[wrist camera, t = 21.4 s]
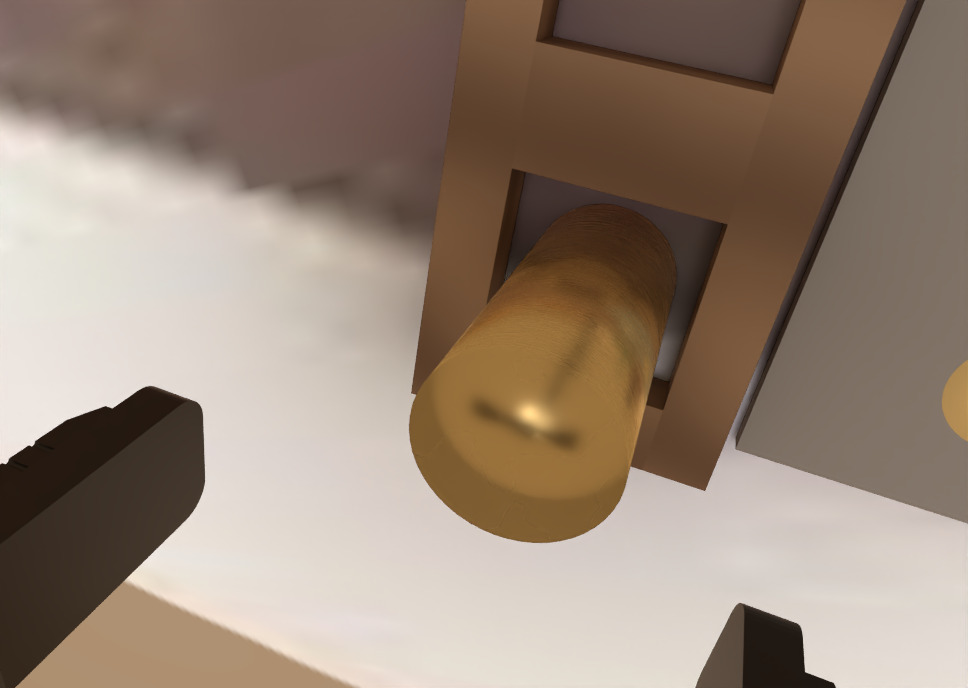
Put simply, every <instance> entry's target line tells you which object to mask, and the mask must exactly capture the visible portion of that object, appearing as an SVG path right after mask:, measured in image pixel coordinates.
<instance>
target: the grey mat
mask: <svg viewBox="0 0 968 688" xmlns="http://www.w3.org/2000/svg"><path fill="white" fill-rule="evenodd" d="M736 450H740V451H743V452H746V453H749V454H752V455H755V456H758V457H761V458H765V459H768V460H771V461H774V462H777V463H780V464H783V465H787V466H790V467H793V468H796V469H799V470H802V471H805V472H808V473H812V474H815V475H818V476H821V477H824V478H827V479H830V480H833V481H837V482H840V483H843V484H846V485H849V486H852V487H855V488H859V489H862V490H865V491H868V492H871V493H874V494H877V495H880V496H884V497H887V498H890V499H893V500H896V501H899V502H902V503H905V504H909V505H912V506H915V507H918V508H921V509H924V510H927V511H930V512H934V513H937V514H940V515H943V516H946V517H949V518H952V519H956V520H959V521H962V522H965V523H968V0H919V2H918V4H917V6H916V9H915V11H914V13H913V16H912V18H911V21H910V23H909V25H908V28H907V30H906V33H905V35H904V37H903V40H902V42H901V45H900V47H899V49H898V52H897V54H896V57H895V59H894V61H893V64H892V66H891V68H890V71H889V73H888V76H887V78H886V80H885V83H884V85H883V88H882V90H881V92H880V95H879V97H878V100H877V102H876V104H875V107H874V109H873V112H872V114H871V116H870V119H869V121H868V123H867V126H866V128H865V131H864V133H863V135H862V138H861V140H860V143H859V145H858V147H857V150H856V152H855V155H854V157H853V159H852V162H851V164H850V167H849V169H848V171H847V174H846V176H845V178H844V181H843V183H842V186H841V188H840V190H839V193H838V195H837V198H836V200H835V202H834V205H833V207H832V210H831V212H830V214H829V217H828V219H827V221H826V224H825V226H824V229H823V231H822V233H821V236H820V238H819V241H818V243H817V245H816V248H815V250H814V253H813V255H812V257H811V260H810V262H809V265H808V267H807V269H806V272H805V274H804V276H803V279H802V281H801V284H800V286H799V288H798V291H797V293H796V296H795V298H794V300H793V303H792V305H791V308H790V310H789V312H788V315H787V317H786V320H785V322H784V324H783V327H782V329H781V331H780V334H779V336H778V339H777V341H776V343H775V346H774V348H773V351H772V353H771V355H770V358H769V360H768V363H767V365H766V367H765V370H764V372H763V375H762V377H761V379H760V382H759V384H758V386H757V389H756V391H755V394H754V396H753V398H752V401H751V403H750V406H749V408H748V410H747V413H746V415H745V418H744V420H743V422H742V425H741V427H740V430H739V432H738V434H737V437H736Z"/></svg>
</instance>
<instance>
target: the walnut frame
mask: <svg viewBox="0 0 968 688" xmlns="http://www.w3.org/2000/svg"><path fill="white" fill-rule="evenodd" d="M558 3H559V0H466V7H465V14H464V21H463V28H462V36H461V43H460V50H459V57H458V64H457V71H456V78H455V85H454V93H453V100H452V107H451V114H450V121H449V128H448V135H447V142H446V150H445V157H444V164H443V171H442V178H441V185H440V192H439V199H438V207H437V214H436V221H435V228H434V235H433V242H432V249H431V256H430V263H429V271H428V278H427V285H426V292H425V299H424V306H423V313H422V320H421V328H420V335H419V342H418V349H417V356H416V363H415V370H414V377H413V385H412V392H411V393H413V394H416V395H417V393H418V391H419V390H420V388H421V386H422V385H423V383H424V382H425V381H426V379H427V378H428V377H429V376H430V375H431V373H432V372H433V371H434V370H435V368H436V367H437V366H438V365H439V363H440V362H441V361H442V360H443V358H444V357H445V356H446V355H447V353H448V352H449V351H450V350H451V348H452V347H453V346H454V345H455V343H456V342H457V341H458V340H459V339H460V337H461V336H462V335H463V334H464V332H465V331H466V330H467V329H468V327H469V326H470V325H471V324H472V322H473V321H474V320H475V319H476V317H477V316H478V315H479V314H480V312H481V311H482V310H483V309H484V308H485V306H486V305H487V304H488V303H489V301H490V300H491V299H492V298H493V296H494V295H495V294H496V293H497V291H498V290H499V289H500V288H501V286H502V285H503V282H504V277H505V272H506V267H507V262H508V257H509V252H510V247H511V242H512V236H513V231H514V226H515V221H516V216H517V211H518V206H519V201H520V196H521V191H522V186H523V181H524V176H525V172H528V173H532V174H536V175H540V176H543V177H547V178H551V179H555V180H559V181H563V182H566V183H570V184H574V185H578V186H582V187H586V188H590V189H593V190H597V191H601V192H605V193H609V194H613V195H616V196H620V197H624V198H628V199H632V200H636V201H639V202H643V203H647V204H651V205H655V206H659V207H663V208H666V209H670V210H674V211H678V212H682V213H686V214H689V215H693V216H697V217H701V218H705V219H709V220H712V221H716V222H720V223H724V225H723V228H722V231H721V234H720V237H719V240H718V243H717V245H716V248H715V251H714V254H713V257H712V260H711V263H710V266H709V269H708V271H707V274H706V277H705V280H704V283H703V286H702V289H701V292H700V295H699V297H698V300H697V303H696V306H695V309H694V312H693V315H692V318H691V321H690V323H689V326H688V329H687V332H686V335H685V338H684V341H683V344H682V347H681V349H680V352H679V355H678V358H677V361H676V364H675V367H674V370H673V373H672V375H671V378H670V381H669V382H665V381H662V380H659V379H656V378H652V382H651V386H650V390H649V394H648V398H647V402H646V406H645V410H644V414H643V418H642V422H641V426H640V430H639V434H638V438H637V442H636V446H635V450H634V454H633V458H632V462H631V466H632V467H635V468H638V469H641V470H644V471H647V472H650V473H653V474H656V475H659V476H662V477H665V478H668V479H671V480H674V481H677V482H680V483H683V484H686V485H689V486H692V487H695V488H698V489H701V490H704V491H705V490H706V487H707V485H708V483H709V480H710V478H711V475H712V473H713V470H714V468H715V466H716V463H717V461H718V458H719V456H720V453H721V451H722V448H723V446H724V444H725V441H726V439H727V436H728V434H729V431H730V429H731V427H732V424H733V422H734V419H735V417H736V414H737V412H738V410H739V407H740V405H741V402H742V400H743V397H744V395H745V392H746V390H747V388H748V385H749V383H750V380H751V378H752V375H753V373H754V371H755V368H756V366H757V363H758V361H759V358H760V356H761V353H762V351H763V349H764V346H765V344H766V341H767V339H768V336H769V334H770V332H771V329H772V327H773V324H774V322H775V319H776V317H777V315H778V312H779V310H780V307H781V305H782V302H783V300H784V297H785V295H786V293H787V290H788V288H789V285H790V283H791V280H792V278H793V276H794V273H795V271H796V268H797V266H798V263H799V261H800V258H801V256H802V254H803V251H804V249H805V246H806V244H807V241H808V239H809V237H810V234H811V232H812V229H813V227H814V224H815V222H816V220H817V217H818V215H819V212H820V210H821V207H822V205H823V202H824V200H825V198H826V195H827V193H828V190H829V188H830V185H831V183H832V181H833V178H834V176H835V173H836V171H837V168H838V166H839V163H840V161H841V159H842V156H843V154H844V151H845V149H846V146H847V144H848V142H849V139H850V137H851V134H852V132H853V129H854V127H855V125H856V122H857V120H858V117H859V115H860V112H861V110H862V107H863V105H864V103H865V100H866V98H867V95H868V93H869V90H870V88H871V86H872V83H873V81H874V78H875V76H876V73H877V71H878V69H879V66H880V64H881V61H882V59H883V56H884V54H885V51H886V49H887V47H888V44H889V42H890V39H891V37H892V34H893V32H894V30H895V27H896V25H897V22H898V20H899V17H900V15H901V12H902V10H903V8H904V5H905V3H906V0H801V3H800V6H799V8H798V11H797V14H796V17H795V20H794V23H793V26H792V29H791V32H790V34H789V37H788V40H787V43H786V46H785V49H784V52H783V55H782V58H781V60H780V63H779V66H778V69H777V72H776V75H775V78H774V81H773V84H772V85H770V84H766V83H761V82H757V81H752V80H747V79H743V78H738V77H734V76H729V75H725V74H720V73H716V72H711V71H707V70H702V69H698V68H693V67H689V66H684V65H679V64H675V63H670V62H666V61H661V60H657V59H652V58H648V57H643V56H639V55H634V54H630V53H625V52H620V51H616V50H611V49H607V48H602V47H598V46H593V45H589V44H584V43H580V42H575V41H571V40H566V39H562V38H557V37H552V34H553V29H554V24H555V19H556V13H557V8H558Z"/></svg>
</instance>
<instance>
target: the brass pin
mask: <svg viewBox="0 0 968 688" xmlns="http://www.w3.org/2000/svg"><path fill="white" fill-rule="evenodd" d="M676 279H677V273H676V263H675V258H674V255H673V252H672V249H671V247H670V245H669V243H668V241H667V240H666V238H665V237H664V235H663V234H662V233H661V231H660V230H659V229H658V228H657V227H656V226H655V225H654V224H653V223H652V222H650V221H649V220H648V219H646V218H645V217H643V216H642V215H640V214H639V213H636V212H634V211H632V210H630V209H627V208H624V207H621V206H616V205H608V204H595V205H588V206H583V207H580V208H577V209H574V210H572V211H570V212H568V213H566V214H564V215H563V216H561V217H560V218H558V219H557V220H556V221H555V222H554V223H553V224H552V225H551V226H550V227H549V228H548V229H547V231H546V232H545V233H544V234H543V236H542V237H541V238H540V239H539V240H538V242H537V243H536V244H535V245H534V247H533V248H532V249H531V250H530V252H529V253H528V254H527V255H526V257H525V258H524V259H523V260H522V262H521V263H520V264H519V265H518V267H517V268H516V269H515V270H514V272H513V273H512V274H511V275H510V276H509V278H508V279H507V280H506V281H505V283H504V284H503V285H502V286H501V288H500V289H499V290H498V291H497V293H496V294H495V295H494V296H493V298H492V299H491V300H490V301H489V303H488V304H487V305H486V306H485V308H484V309H483V310H482V311H481V312H480V314H479V315H478V316H477V317H476V319H475V320H474V321H473V322H472V324H471V325H470V326H469V327H468V329H467V330H466V331H465V332H464V334H463V335H462V336H461V337H460V339H459V340H458V341H457V342H456V343H455V345H454V346H453V347H452V348H451V350H450V351H449V352H448V353H447V355H446V356H445V357H444V358H443V360H442V361H441V362H440V363H439V365H438V366H437V367H436V368H435V370H434V371H433V372H432V373H431V375H430V376H429V377H428V378H427V379H426V381H425V382H424V383H423V385H422V386H421V388H420V390H419V391H418V393H417V395H416V397H415V400H414V402H413V405H412V409H411V414H410V422H409V434H410V442H411V447H412V452H413V455H414V458H415V460H416V463H417V465H418V467H419V469H420V471H421V473H422V475H423V477H424V479H425V480H426V482H427V483H428V485H429V486H430V488H431V489H432V490H433V491H434V492H435V494H436V495H437V496H438V497H439V498H440V499H441V500H442V501H443V502H444V503H445V504H446V505H447V506H448V507H449V508H450V509H451V510H453V511H454V512H455V513H456V514H457V515H459V516H460V517H462V518H463V519H465V520H466V521H468V522H469V523H471V524H473V525H475V526H477V527H478V528H480V529H482V530H485V531H487V532H489V533H492V534H494V535H497V536H500V537H504V538H507V539H511V540H516V541H521V542H531V543H549V542H557V541H563V540H567V539H571V538H574V537H576V536H579V535H582V534H584V533H586V532H588V531H589V530H591V529H593V528H595V527H596V526H597V525H599V524H600V523H601V522H602V521H604V520H605V519H606V518H607V517H608V516H609V515H610V513H611V512H612V511H613V510H614V508H615V507H616V505H617V504H618V502H619V501H620V499H621V496H622V494H623V492H624V489H625V485H626V481H627V477H628V474H629V470H630V466H631V462H632V458H633V454H634V450H635V446H636V442H637V438H638V434H639V430H640V426H641V422H642V418H643V414H644V410H645V406H646V402H647V398H648V394H649V390H650V386H651V382H652V378H653V374H654V370H655V366H656V362H657V358H658V354H659V350H660V346H661V342H662V338H663V334H664V330H665V327H666V323H667V319H668V315H669V311H670V307H671V303H672V299H673V295H674V291H675V287H676Z"/></svg>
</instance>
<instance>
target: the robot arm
mask: <svg viewBox="0 0 968 688" xmlns="http://www.w3.org/2000/svg"><path fill="white" fill-rule="evenodd" d="M204 484H205V462H204V433H203V412H202V408H201V406H200V405H199V404H198V403H197V402H195V401H192V400H190V399H187V398H184V397H181V396H179V395H176V394H173V393H170V392H168V391H165V390H162V389H160V388H157V387H154V386H148V387H144V388H142V389H140V390H139V391H137V392H136V393H134V394H133V395H131V396H130V397H128V398H127V399H126V400H124V401H123V402H121V403H120V404H118V405H117V406H116V407H114V408H113V409H112V408H109V407H107V406H105V407H102V408H99V409H96V410H94V411H91V412H88V413H85V414H82V415H80V416H77V417H74V418H71V419H68V420H66V421H65V422H63V423H62V424H60V425H59V426H57V427H56V428H54V429H53V430H51V431H50V432H48V433H47V434H45V435H44V436H42V437H41V438H39V439H38V440H36V441H35V444H34V445H33V446H32V447H31V446H27V447H26V448H24V449H23V450H21V451H20V452H18V453H17V454H15V455H14V456H12V457H11V458H9V461H8V463H7V464H3V463H2V464H0V688H15V687H16V686H17V685H18V684H19V683H20V682H21V681H22V680H23V679H24V678H25V677H26V676H27V675H28V674H29V673H30V672H31V671H32V670H33V669H34V668H36V667H37V665H39V664H40V663H41V662H42V661H43V660H44V659H45V658H46V657H47V656H48V655H49V654H50V653H51V652H52V651H53V650H54V649H55V648H56V647H57V646H58V645H59V644H60V643H61V642H62V641H63V640H64V639H65V638H66V637H67V636H68V635H69V634H70V633H71V632H72V631H73V630H74V629H75V628H76V627H77V626H78V625H79V624H80V623H81V622H82V621H83V620H85V618H87V617H88V616H89V615H90V614H91V613H92V612H93V611H94V610H95V609H96V607H98V606H99V605H100V604H101V603H102V602H103V601H104V600H105V599H106V598H107V597H108V596H109V595H110V594H111V593H112V592H113V591H114V590H115V589H116V588H117V587H118V586H119V585H120V584H121V583H122V582H123V581H124V580H125V579H126V578H127V577H128V576H129V575H130V574H131V573H132V572H133V571H135V570H136V569H137V568H138V567H139V566H140V565H141V564H142V563H143V562H144V561H145V560H146V559H147V558H148V557H149V556H150V555H151V554H152V553H153V552H154V551H155V550H156V549H157V548H158V547H159V546H160V545H161V544H162V543H163V542H164V541H165V540H166V539H167V538H168V537H169V536H170V535H171V534H172V533H173V532H174V531H175V530H176V529H177V528H178V527H179V526H180V525H181V524H182V523H183V522H184V521H185V520H186V519H187V518H188V517H189V516H190V515H191V513H192V512H193V511H194V509H195V508H196V506H197V504H198V502H199V500H200V498H201V495H202V492H203V489H204ZM696 688H836V687H835V685H834V683H832V682H829V681H827V680H824V679H822V678H819V677H816V676H814V675H811V674H808V673H806V672H805V666H804V649H803V636H802V630H801V627H800V626H799V625H798V624H797V623H794V622H791V621H789V620H786V619H783V618H780V617H778V616H775V615H772V614H769V613H767V612H764V611H761V610H759V609H756V608H753V607H750V606H748V605H745V604H742V603H739V604H737V605H736V606H735V608H734V609H733V611H732V613H731V615H730V617H729V619H728V621H727V623H726V625H725V627H724V629H723V631H722V633H721V635H720V637H719V639H718V641H717V643H716V645H715V647H714V649H713V651H712V652H711V654H710V656H709V658H708V660H707V662H706V664H705V666H704V668H703V670H702V672H701V674H700V677H699V679H698V682H697V685H696Z"/></svg>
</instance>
